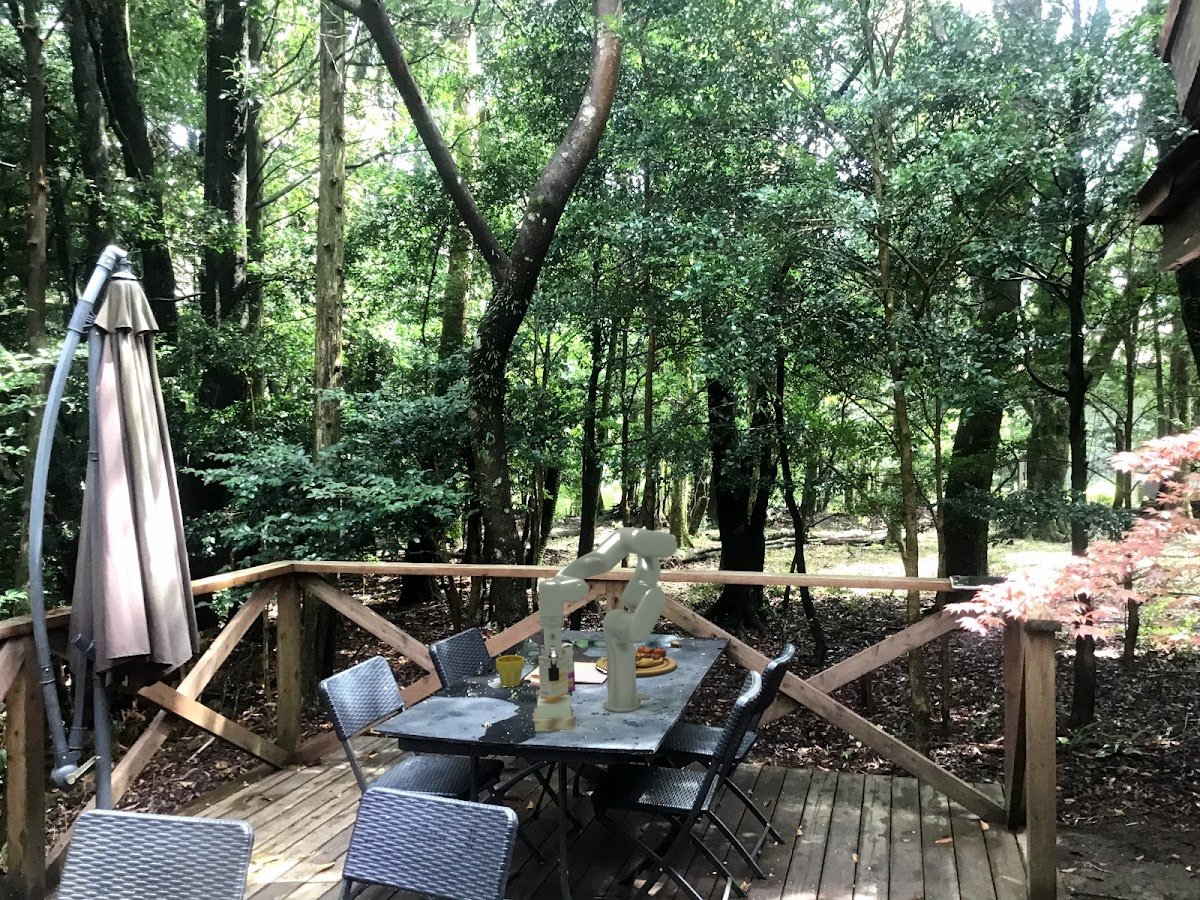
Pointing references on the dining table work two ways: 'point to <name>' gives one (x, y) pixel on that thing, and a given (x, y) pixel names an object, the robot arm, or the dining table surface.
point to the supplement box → (553, 688)
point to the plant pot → (510, 669)
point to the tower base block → (554, 723)
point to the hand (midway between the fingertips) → (553, 676)
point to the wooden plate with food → (647, 662)
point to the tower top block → (554, 708)
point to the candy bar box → (568, 664)
